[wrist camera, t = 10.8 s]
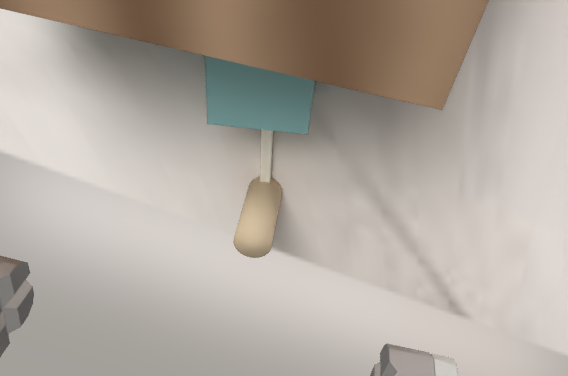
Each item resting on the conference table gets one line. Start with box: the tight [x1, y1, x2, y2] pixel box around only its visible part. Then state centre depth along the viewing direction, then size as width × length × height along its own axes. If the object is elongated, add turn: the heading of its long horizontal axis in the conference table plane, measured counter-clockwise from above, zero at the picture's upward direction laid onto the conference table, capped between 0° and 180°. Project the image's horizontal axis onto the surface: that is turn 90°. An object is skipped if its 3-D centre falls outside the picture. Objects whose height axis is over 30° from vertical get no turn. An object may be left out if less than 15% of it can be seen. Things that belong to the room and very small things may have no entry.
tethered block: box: [205, 56, 315, 258], centre depth 31 cm, size 6×14×6 cm, turn 177°
